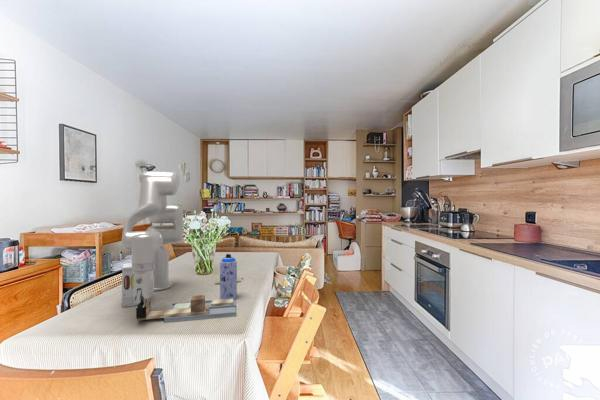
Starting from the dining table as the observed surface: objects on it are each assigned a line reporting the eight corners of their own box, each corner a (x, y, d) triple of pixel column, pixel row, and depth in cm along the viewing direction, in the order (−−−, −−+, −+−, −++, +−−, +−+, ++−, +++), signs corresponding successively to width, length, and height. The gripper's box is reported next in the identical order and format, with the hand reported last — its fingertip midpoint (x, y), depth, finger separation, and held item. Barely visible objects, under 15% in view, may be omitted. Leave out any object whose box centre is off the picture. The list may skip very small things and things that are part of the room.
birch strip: (137, 320, 106) (136, 301, 106) (141, 314, 111) (141, 296, 111) (208, 314, 112) (208, 296, 112) (209, 309, 117) (209, 292, 117)
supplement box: (121, 307, 121) (121, 267, 121) (123, 300, 129) (122, 263, 129) (147, 303, 126) (147, 265, 125) (147, 297, 134) (147, 260, 134)
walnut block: (190, 312, 111) (190, 300, 111) (192, 307, 115) (192, 295, 115) (203, 311, 112) (203, 299, 112) (205, 306, 117) (204, 294, 117)
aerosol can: (216, 297, 134) (216, 254, 134) (231, 293, 139) (231, 251, 139) (225, 301, 128) (225, 256, 128) (240, 297, 134) (240, 254, 134)
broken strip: (192, 308, 119) (192, 305, 119) (193, 304, 123) (193, 301, 123) (233, 305, 122) (233, 302, 122) (233, 301, 127) (233, 298, 127)
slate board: (164, 322, 107) (163, 318, 107) (172, 306, 123) (172, 303, 123) (235, 316, 113) (235, 312, 113) (235, 301, 129) (235, 298, 129)
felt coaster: (173, 310, 116) (173, 309, 116) (175, 305, 122) (175, 303, 122) (188, 309, 118) (188, 307, 118) (190, 303, 123) (190, 302, 123)
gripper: (147, 272, 102) (148, 323, 102) (159, 261, 118) (159, 305, 118) (124, 273, 100) (124, 325, 100) (139, 262, 116) (139, 307, 117)
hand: (143, 314), depth 109 cm, fingers closed on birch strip, 5 cm apart
